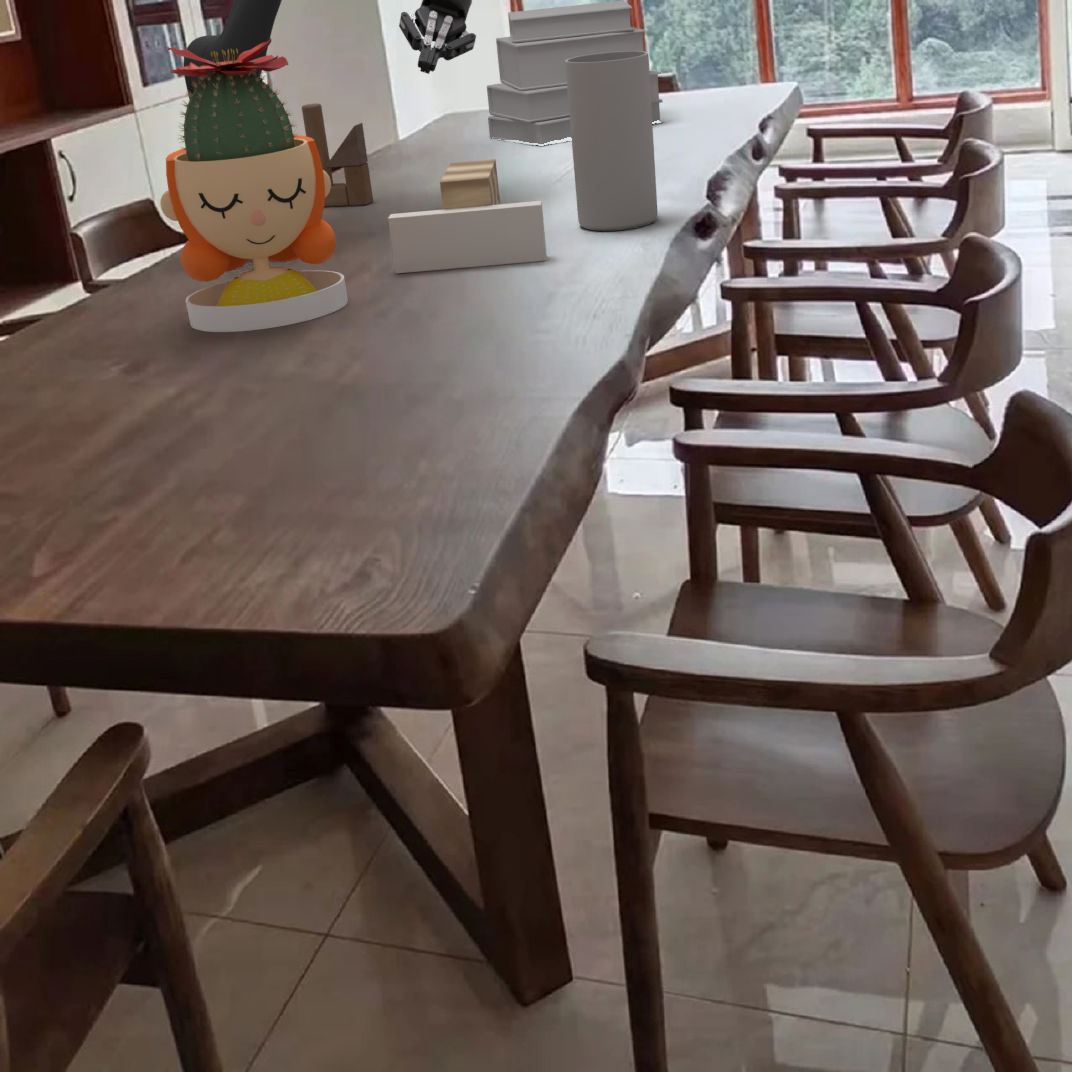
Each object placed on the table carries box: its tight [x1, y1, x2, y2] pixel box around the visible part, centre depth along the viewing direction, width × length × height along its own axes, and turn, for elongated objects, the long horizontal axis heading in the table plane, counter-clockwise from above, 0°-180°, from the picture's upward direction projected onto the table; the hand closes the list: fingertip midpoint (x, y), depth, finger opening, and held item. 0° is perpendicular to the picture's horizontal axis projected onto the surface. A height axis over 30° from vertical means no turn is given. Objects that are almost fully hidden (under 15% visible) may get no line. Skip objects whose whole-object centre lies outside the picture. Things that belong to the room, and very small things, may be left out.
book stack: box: [486, 0, 664, 144], centre depth 306 cm, size 30×35×26 cm
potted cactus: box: [159, 38, 349, 333], centre depth 184 cm, size 22×22×35 cm
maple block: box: [439, 158, 501, 210], centre depth 209 cm, size 16×7×12 cm, turn 177°
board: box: [387, 200, 548, 274], centre depth 202 cm, size 3×22×8 cm, turn 87°
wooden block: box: [301, 102, 374, 208], centre depth 253 cm, size 4×11×18 cm, turn 73°
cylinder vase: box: [565, 50, 659, 232], centre depth 214 cm, size 12×12×25 cm
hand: (425, 68), depth 218 cm, fingers closed
